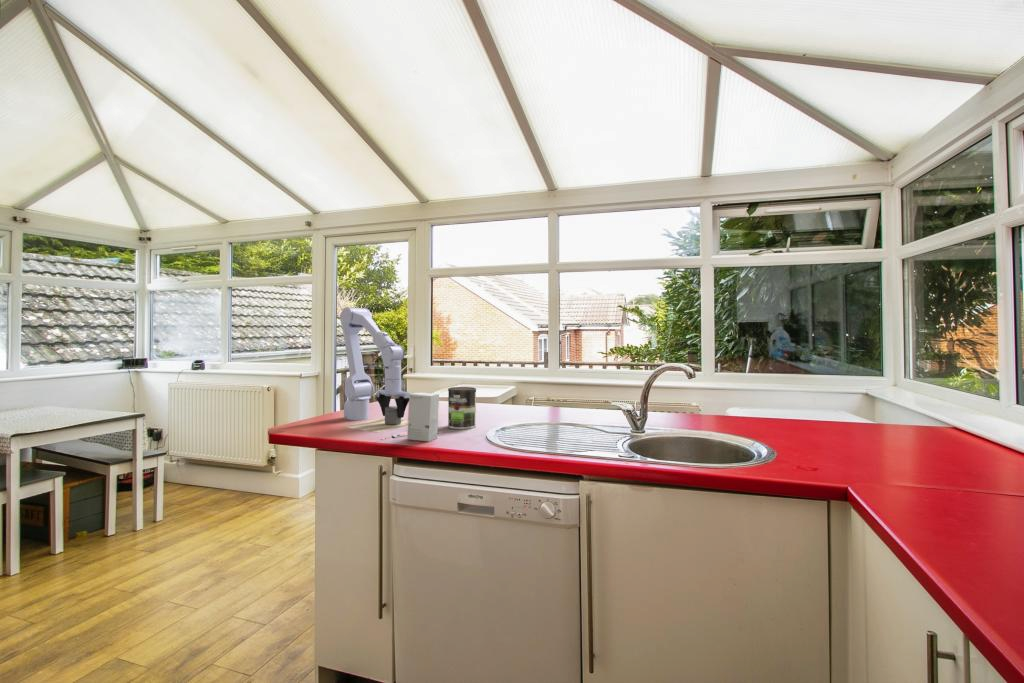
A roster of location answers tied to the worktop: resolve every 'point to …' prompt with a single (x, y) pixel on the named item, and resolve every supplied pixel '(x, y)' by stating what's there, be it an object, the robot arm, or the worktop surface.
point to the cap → (391, 415)
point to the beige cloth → (376, 425)
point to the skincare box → (423, 416)
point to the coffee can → (462, 407)
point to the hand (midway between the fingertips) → (393, 416)
